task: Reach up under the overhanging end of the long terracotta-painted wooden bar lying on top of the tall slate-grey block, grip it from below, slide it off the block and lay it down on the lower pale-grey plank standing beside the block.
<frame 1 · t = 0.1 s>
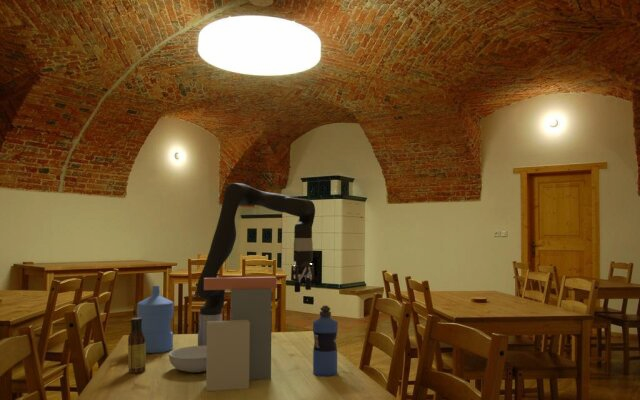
hand: (302, 290, 213), 29 cm above the table, tool pointing down, fingers open, 8 cm apart
serving bowl: (196, 370, 207), on the table
bar: (240, 288, 198), point 32 cm above the table, touching stand
stand: (250, 376, 197), on the table
sauce bottle: (136, 372, 204), on the table
water jug: (154, 350, 239), on the table
water bottle: (325, 373, 202), on the table
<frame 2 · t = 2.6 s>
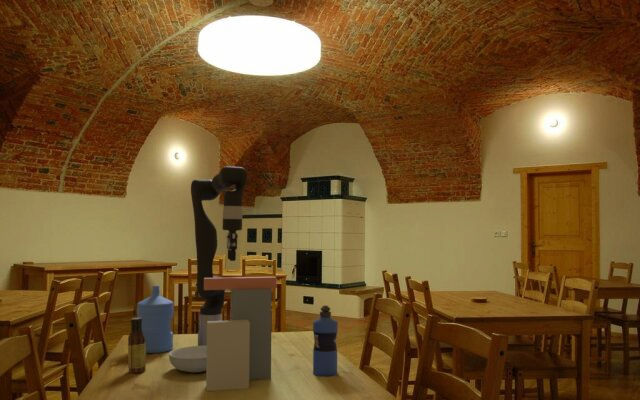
hand: (231, 260, 209), 42 cm above the table, tool pointing down, fingers open, 8 cm apart
nothing on the table moved.
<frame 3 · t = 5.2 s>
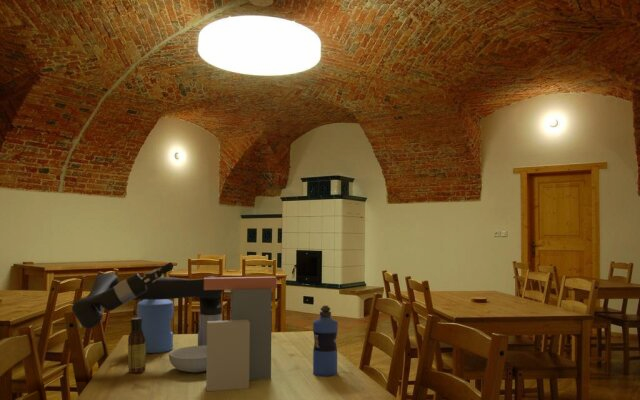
hand: (172, 265, 196), 41 cm above the table, tool pointing upward, fingers open, 8 cm apart
nothing on the table moved.
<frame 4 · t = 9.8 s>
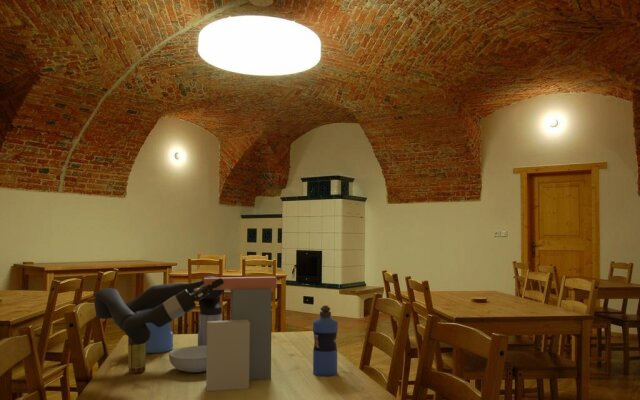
hand: (222, 279, 196), 35 cm above the table, tool pointing upward, fingers closed on bar, 4 cm apart
bar: (240, 288, 198), point 32 cm above the table, touching gripper, stand
everything else where it was.
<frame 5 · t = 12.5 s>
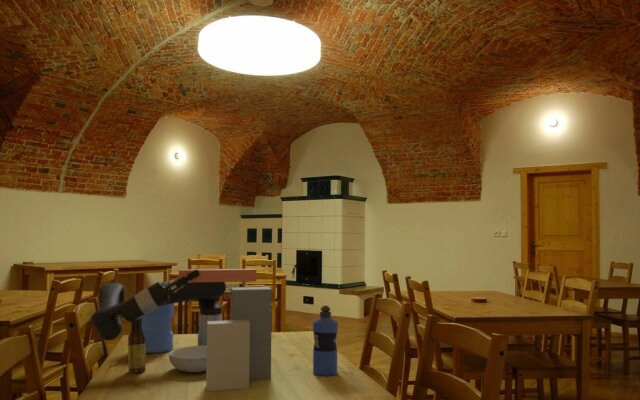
hand: (198, 271, 184), 39 cm above the table, tool pointing upward, fingers closed on bar, 4 cm apart
bar: (217, 281, 185), point 36 cm above the table, touching gripper
everything else where it was.
when the fingers open (26 cm above the table, at t = 15.5 s): bar stays where it is, resting on stand.
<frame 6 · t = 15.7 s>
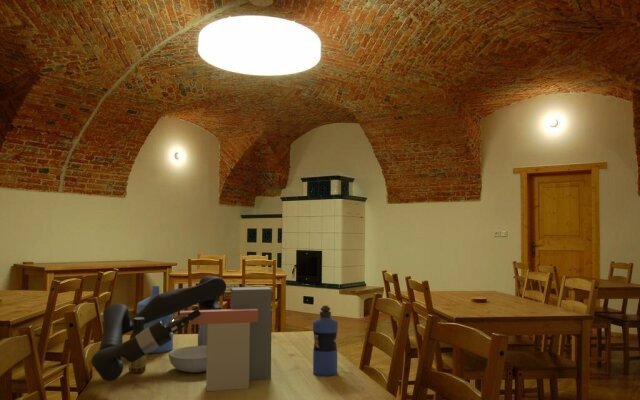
hand: (199, 310, 183), 26 cm above the table, tool pointing upward, fingers open, 5 cm apart
bar: (219, 322, 184), point 22 cm above the table, touching stand
sauce bottle: (136, 371, 204), on the table, touching arm
everything else where it was.
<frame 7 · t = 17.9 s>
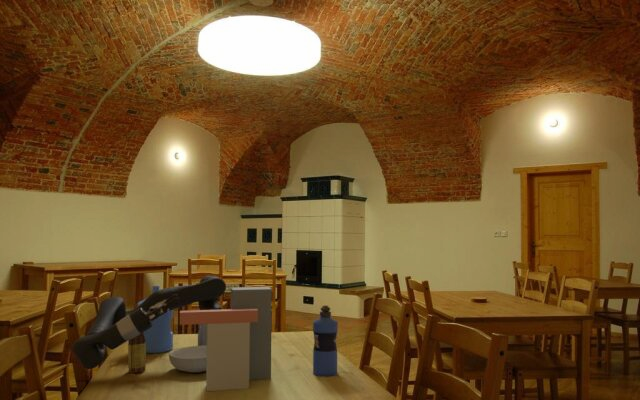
hand: (177, 298, 184), 30 cm above the table, tool pointing upward, fingers open, 8 cm apart
sauce bottle: (136, 371, 204), on the table
everything else where it was.
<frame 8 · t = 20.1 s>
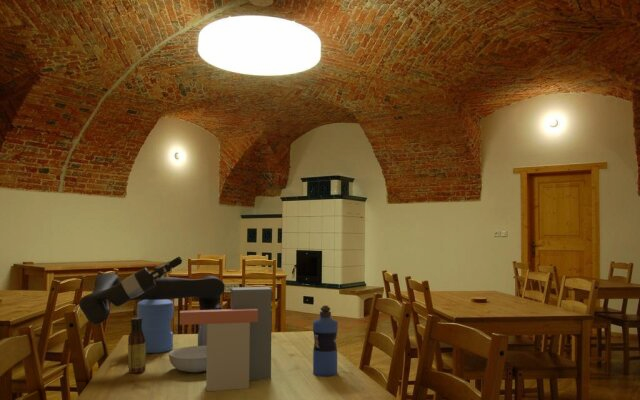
hand: (180, 259, 191), 43 cm above the table, tool pointing upward, fingers open, 8 cm apart
nothing on the table moved.
at the end: bar inside the target area (0.2 cm from its centre), point 22.0 cm above the table; the gripper is holding nothing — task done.
